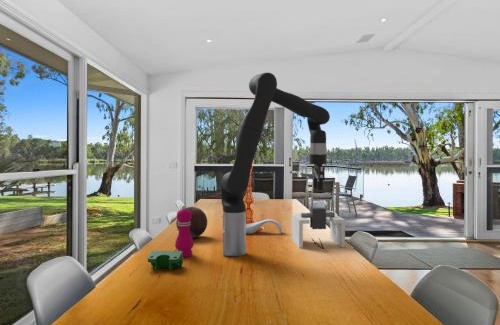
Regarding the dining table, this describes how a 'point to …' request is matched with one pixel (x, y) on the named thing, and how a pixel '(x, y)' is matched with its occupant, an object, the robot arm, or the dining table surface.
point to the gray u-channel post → (318, 218)
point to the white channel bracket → (335, 225)
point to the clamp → (166, 259)
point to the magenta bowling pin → (184, 232)
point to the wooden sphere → (196, 222)
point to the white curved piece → (255, 226)
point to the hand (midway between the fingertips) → (317, 189)
